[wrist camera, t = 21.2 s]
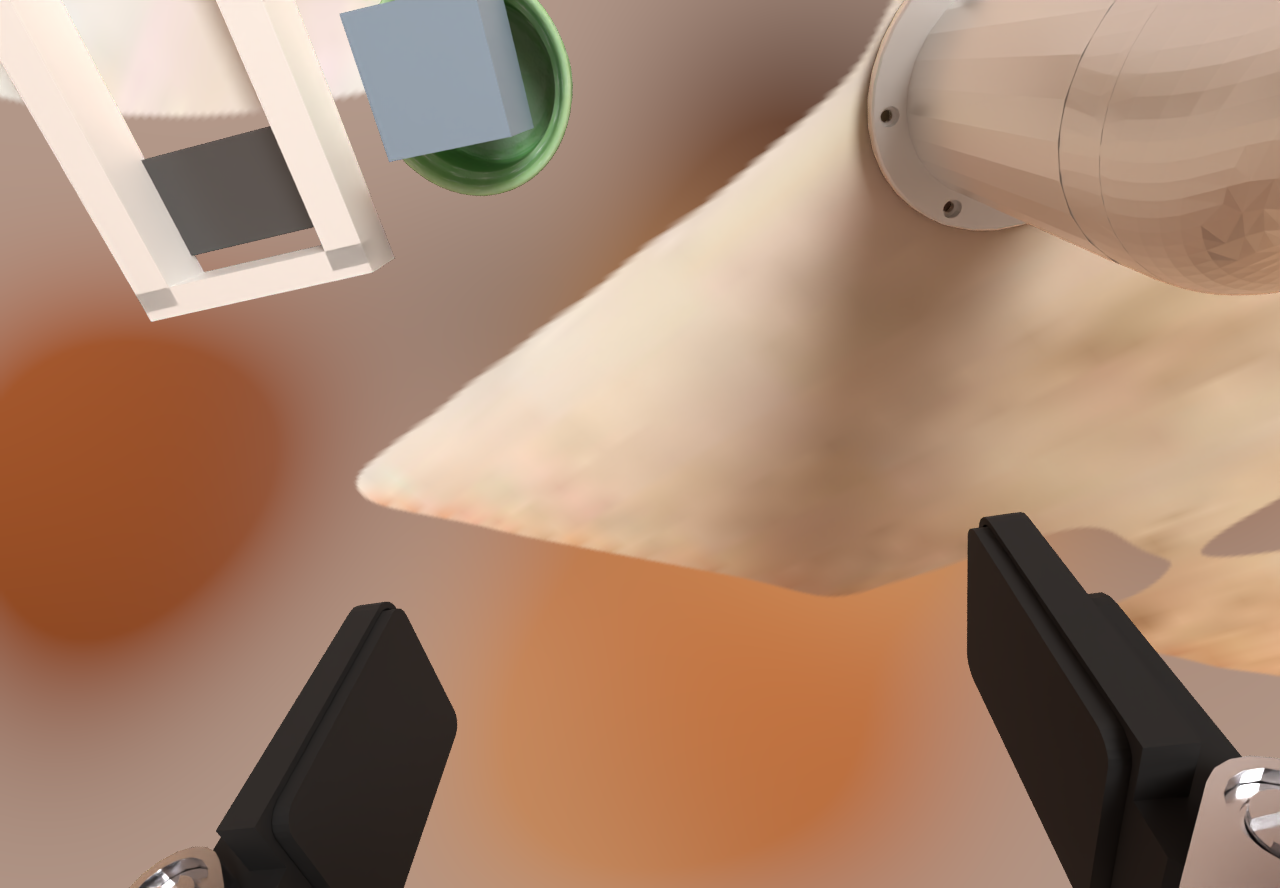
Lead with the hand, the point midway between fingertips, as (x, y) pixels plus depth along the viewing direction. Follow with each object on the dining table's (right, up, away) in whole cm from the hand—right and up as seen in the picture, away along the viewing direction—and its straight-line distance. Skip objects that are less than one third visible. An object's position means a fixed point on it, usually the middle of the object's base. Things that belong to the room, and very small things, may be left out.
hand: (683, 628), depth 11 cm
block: (-8, +19, +18) cm, 27 cm away
